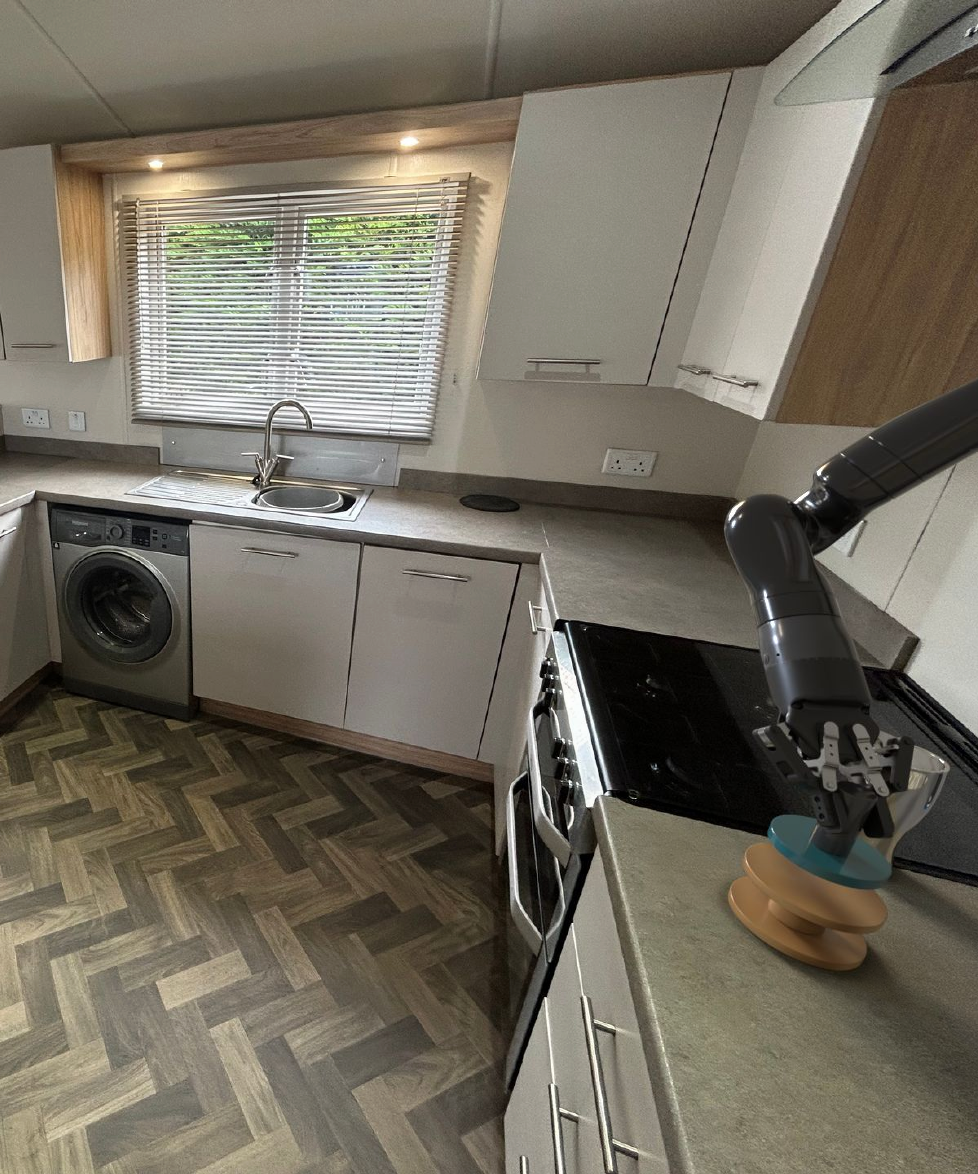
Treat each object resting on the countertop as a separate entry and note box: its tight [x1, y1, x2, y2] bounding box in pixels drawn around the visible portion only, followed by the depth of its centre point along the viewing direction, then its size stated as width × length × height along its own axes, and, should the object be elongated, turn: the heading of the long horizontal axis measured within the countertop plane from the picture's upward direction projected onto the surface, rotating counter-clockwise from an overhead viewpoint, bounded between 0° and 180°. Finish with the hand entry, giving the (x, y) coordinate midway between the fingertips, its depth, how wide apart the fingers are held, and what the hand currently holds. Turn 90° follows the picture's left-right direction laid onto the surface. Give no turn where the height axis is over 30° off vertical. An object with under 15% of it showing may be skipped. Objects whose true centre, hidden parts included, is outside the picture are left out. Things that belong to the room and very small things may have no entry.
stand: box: [727, 842, 889, 972], centre depth 67 cm, size 11×11×6 cm
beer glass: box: [845, 744, 951, 870], centre depth 74 cm, size 7×7×15 cm
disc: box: [767, 779, 893, 891], centre depth 63 cm, size 9×9×8 cm
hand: (858, 834), depth 61 cm, fingers closed on disc, 3 cm apart
